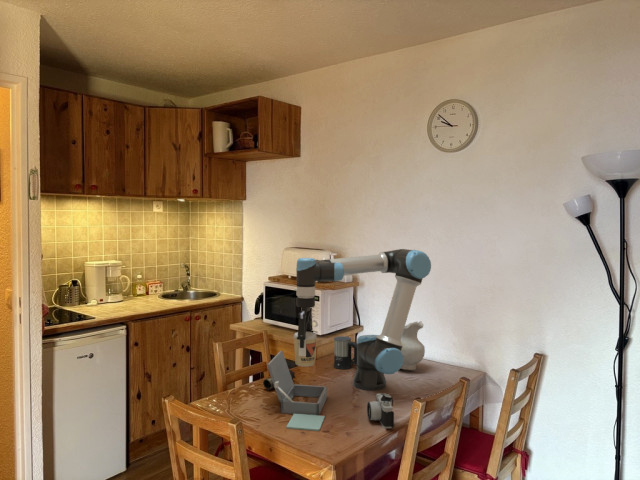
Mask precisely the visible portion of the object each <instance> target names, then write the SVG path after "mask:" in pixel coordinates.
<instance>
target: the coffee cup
mask: <svg viewBox="0 0 640 480" xmlns="http://www.w3.org/2000/svg"><path fill="white" fill-rule="evenodd" d="M317 335H318V334H317V333H316V332H314V331H313V332H306V337H305V339H306V356H299V339H297V337H298V331H297V332H295V333H293V346H294V347H293V348H294V362H295V363H294V364H295V365H296V366H298V367H312V366H314V365H315V362H316V361H315V360H316V352H317V351H316V350H317V338H318V336H317Z"/></svg>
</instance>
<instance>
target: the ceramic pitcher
mask: <svg viewBox="0 0 640 480" xmlns="http://www.w3.org/2000/svg"><path fill="white" fill-rule="evenodd" d="M423 328H424V323H423V322H422V321H413V322H410V323H408V324H405V327H404V330H403V334H402V337H401V343H402V345H403V346H402V350H401V352H402V355H403V358H404V361H403V365H402V367H401V368H400V369H401V370H406V371H415V370H416V369H417V364H419V363H420V362H421V361H422V360H423V359H424V357H425V353H426V352H425V351H426V349H425V348H426V347H425V345H424V344H423V343H422V342H421V341H420V340H419V339H418V333H419V330H421V329H423ZM400 369H399V370H400Z"/></svg>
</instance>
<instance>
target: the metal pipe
mask: <svg viewBox="0 0 640 480" xmlns="http://www.w3.org/2000/svg"><path fill="white" fill-rule="evenodd" d="M289 372H290V374H291V377H292V380H294V379H296V376H295V375H296V371H293V370H292V369H289ZM262 382H263V383H262V384H263V388H265V389H266V390H271V389H273V388H274V384H273V381H272V378H271V377H268V378H265V379H264V380H263V381H262Z"/></svg>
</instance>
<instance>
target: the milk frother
mask: <svg viewBox="0 0 640 480" xmlns="http://www.w3.org/2000/svg"><path fill="white" fill-rule="evenodd" d="M333 341H334V343H333V345H334V347H333V349H334V350H333V352H334V353H333V355H334V357H333V358H334V359H333V367H334V368H335V369H337V370H339V369H340V370H347V369H350V368H352V365H356V366H357V342H355V341H352V337H350V336H345V335H341V336H335V337H333ZM352 348H353V358H352Z"/></svg>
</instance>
